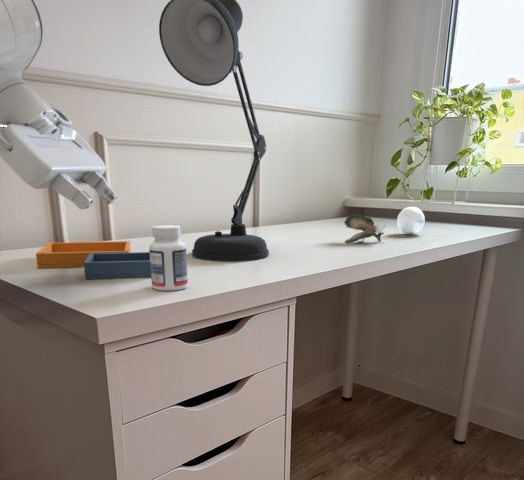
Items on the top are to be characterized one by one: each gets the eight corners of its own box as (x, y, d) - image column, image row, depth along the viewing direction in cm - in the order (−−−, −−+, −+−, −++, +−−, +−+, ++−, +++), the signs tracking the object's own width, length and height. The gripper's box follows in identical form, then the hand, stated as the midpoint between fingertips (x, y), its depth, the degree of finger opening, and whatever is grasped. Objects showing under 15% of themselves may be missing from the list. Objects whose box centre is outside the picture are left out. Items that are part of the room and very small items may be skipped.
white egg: (410, 236, 137) (413, 208, 135) (389, 233, 143) (392, 206, 140) (435, 234, 142) (439, 206, 140) (414, 231, 148) (417, 205, 146)
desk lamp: (178, 269, 90) (164, -38, 75) (158, 248, 113) (145, 10, 98) (307, 263, 97) (318, -19, 82) (264, 244, 120) (266, 21, 105)
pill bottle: (187, 283, 80) (184, 224, 77) (188, 290, 75) (186, 228, 72) (152, 284, 79) (148, 224, 76) (151, 291, 74) (147, 228, 71)
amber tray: (37, 268, 90) (35, 253, 89) (50, 256, 103) (48, 242, 102) (129, 265, 93) (128, 251, 92) (131, 254, 106) (130, 241, 105)
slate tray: (85, 279, 82) (83, 262, 81) (90, 268, 91) (89, 253, 90) (159, 276, 84) (159, 260, 83) (158, 266, 93) (157, 251, 92)
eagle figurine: (374, 234, 131) (340, 227, 130) (385, 211, 126) (350, 204, 124) (378, 254, 127) (343, 248, 125) (390, 232, 121) (354, 224, 119)
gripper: (-8, 98, 58) (86, 189, 61) (69, 115, 78) (138, 184, 80) (-38, 140, 60) (54, 227, 63) (44, 147, 79) (112, 213, 82)
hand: (101, 203), depth 72 cm, fingers open, 8 cm apart
